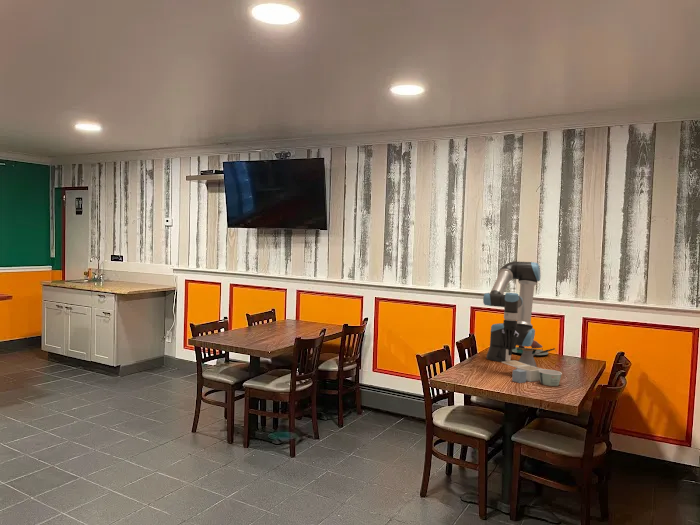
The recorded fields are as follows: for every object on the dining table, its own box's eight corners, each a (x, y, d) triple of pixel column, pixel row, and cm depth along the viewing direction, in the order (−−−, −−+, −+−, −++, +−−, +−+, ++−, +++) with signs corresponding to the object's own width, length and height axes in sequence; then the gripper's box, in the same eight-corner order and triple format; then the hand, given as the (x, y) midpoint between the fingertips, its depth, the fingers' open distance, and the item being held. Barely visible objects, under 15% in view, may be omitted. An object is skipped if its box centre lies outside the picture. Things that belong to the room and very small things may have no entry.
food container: (549, 387, 285) (549, 374, 285) (532, 381, 296) (533, 369, 296) (566, 386, 290) (567, 373, 290) (549, 380, 301) (550, 368, 301)
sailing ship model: (542, 359, 361) (543, 342, 361) (500, 352, 377) (501, 336, 376) (552, 353, 385) (553, 337, 384) (512, 347, 400) (513, 332, 400)
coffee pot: (516, 371, 319) (517, 346, 318) (516, 367, 330) (517, 343, 329) (555, 376, 312) (556, 350, 312) (554, 372, 323) (555, 346, 323)
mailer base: (515, 377, 303) (516, 366, 303) (529, 375, 309) (529, 365, 309) (530, 381, 295) (530, 370, 295) (543, 380, 301) (544, 369, 301)
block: (512, 380, 295) (512, 369, 295) (518, 380, 298) (519, 369, 298) (519, 383, 291) (520, 371, 291) (525, 382, 294) (526, 371, 294)
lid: (516, 366, 303) (516, 367, 303) (529, 364, 309) (529, 366, 309) (501, 361, 312) (501, 362, 312) (514, 359, 318) (514, 361, 318)
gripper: (497, 318, 318) (494, 358, 319) (514, 321, 307) (512, 363, 308) (506, 318, 322) (503, 357, 323) (523, 321, 311) (521, 362, 312)
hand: (508, 360), depth 315 cm, fingers closed
